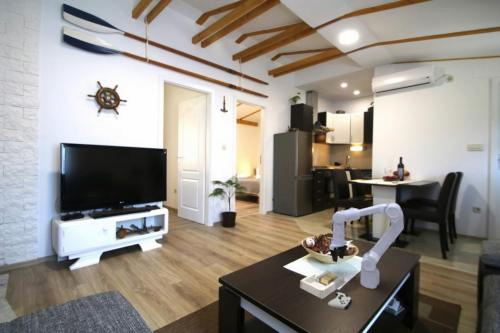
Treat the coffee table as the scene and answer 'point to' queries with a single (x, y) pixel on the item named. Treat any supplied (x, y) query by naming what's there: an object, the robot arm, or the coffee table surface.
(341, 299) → the gaming controller
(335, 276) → the chip
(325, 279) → the chip
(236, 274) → the coffee table surface
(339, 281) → the slot block
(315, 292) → the tray
